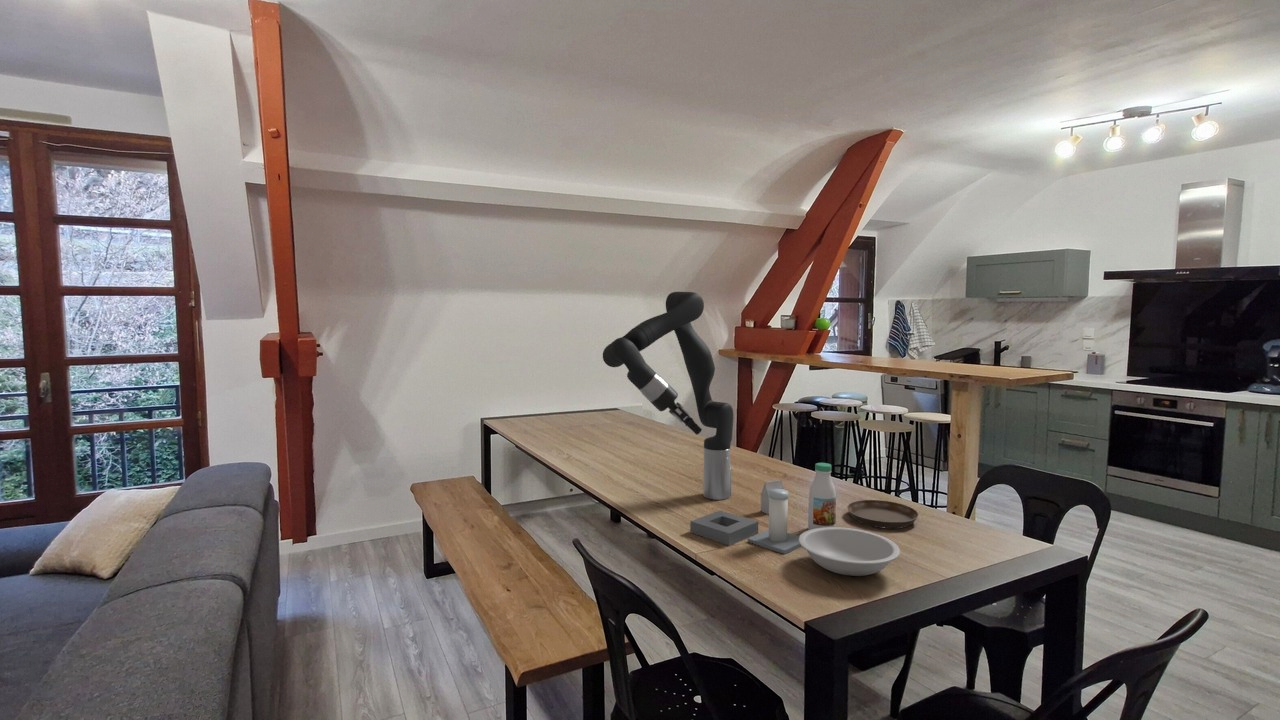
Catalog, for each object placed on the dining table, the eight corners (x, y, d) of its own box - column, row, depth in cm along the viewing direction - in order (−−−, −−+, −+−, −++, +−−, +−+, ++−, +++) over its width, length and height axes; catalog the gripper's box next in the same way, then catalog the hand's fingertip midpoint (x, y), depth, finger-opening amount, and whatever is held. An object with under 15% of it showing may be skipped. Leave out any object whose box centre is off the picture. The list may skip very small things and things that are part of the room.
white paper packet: (784, 511, 198) (785, 481, 197) (767, 514, 195) (768, 483, 194) (777, 508, 201) (778, 478, 200) (760, 511, 198) (761, 481, 197)
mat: (771, 531, 180) (771, 528, 180) (808, 542, 171) (808, 538, 171) (747, 542, 171) (747, 538, 171) (785, 554, 163) (785, 550, 163)
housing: (719, 521, 188) (720, 510, 188) (758, 533, 178) (758, 521, 178) (690, 532, 178) (690, 521, 178) (729, 545, 168) (729, 533, 168)
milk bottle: (803, 531, 180) (804, 464, 179) (815, 524, 186) (817, 459, 184) (827, 537, 175) (829, 468, 173) (839, 530, 180) (841, 464, 179)
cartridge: (774, 533, 175) (775, 487, 174) (791, 538, 171) (792, 491, 170) (764, 538, 171) (764, 491, 170) (780, 543, 167) (781, 495, 166)
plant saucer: (882, 535, 177) (882, 524, 177) (832, 514, 196) (833, 504, 196) (933, 526, 186) (933, 515, 185) (881, 506, 204) (881, 496, 204)
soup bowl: (921, 583, 145) (922, 556, 145) (833, 596, 139) (834, 568, 138) (858, 546, 168) (859, 523, 168) (780, 556, 162) (781, 531, 161)
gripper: (671, 385, 172) (711, 424, 174) (663, 380, 186) (699, 416, 188) (652, 404, 172) (692, 443, 174) (645, 397, 186) (682, 433, 188)
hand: (696, 429), depth 181 cm, fingers open, 8 cm apart
